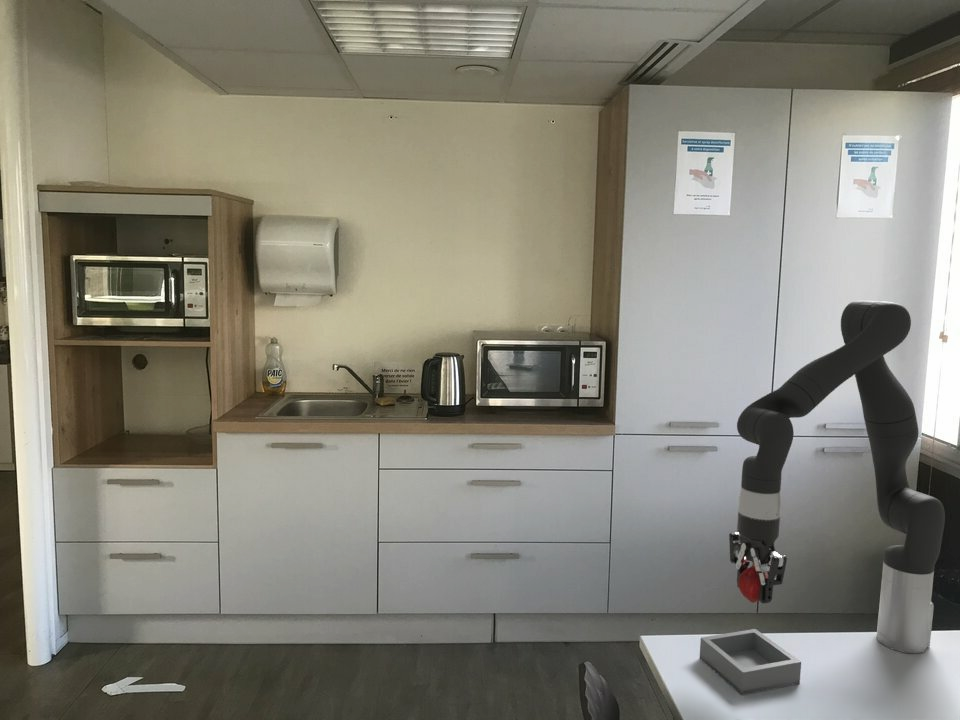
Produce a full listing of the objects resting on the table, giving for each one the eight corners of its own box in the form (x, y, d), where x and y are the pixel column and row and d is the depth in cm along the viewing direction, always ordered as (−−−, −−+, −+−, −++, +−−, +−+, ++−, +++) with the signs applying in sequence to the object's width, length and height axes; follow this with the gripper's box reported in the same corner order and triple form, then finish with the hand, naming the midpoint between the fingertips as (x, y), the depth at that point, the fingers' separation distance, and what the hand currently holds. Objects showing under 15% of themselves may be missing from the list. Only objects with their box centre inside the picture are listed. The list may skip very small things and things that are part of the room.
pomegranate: (773, 609, 137) (776, 569, 136) (743, 608, 137) (745, 569, 136) (762, 595, 142) (764, 557, 141) (733, 595, 143) (735, 556, 141)
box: (753, 649, 150) (755, 628, 149) (799, 683, 137) (801, 661, 137) (699, 658, 146) (700, 637, 145) (741, 695, 133) (743, 672, 133)
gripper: (802, 522, 132) (795, 609, 134) (750, 498, 145) (745, 577, 147) (768, 526, 129) (762, 614, 131) (719, 501, 143) (714, 581, 145)
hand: (753, 594), depth 139 cm, fingers closed on pomegranate, 6 cm apart
